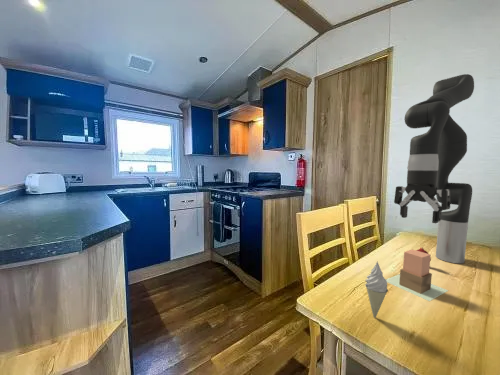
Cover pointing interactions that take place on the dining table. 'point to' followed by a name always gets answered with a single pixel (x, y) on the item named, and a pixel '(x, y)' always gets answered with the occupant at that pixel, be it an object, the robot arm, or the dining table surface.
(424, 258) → the terracotta block
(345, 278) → the dining table surface
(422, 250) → the red oval piece
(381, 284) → the ice cream cone
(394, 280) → the sage board
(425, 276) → the walnut block
